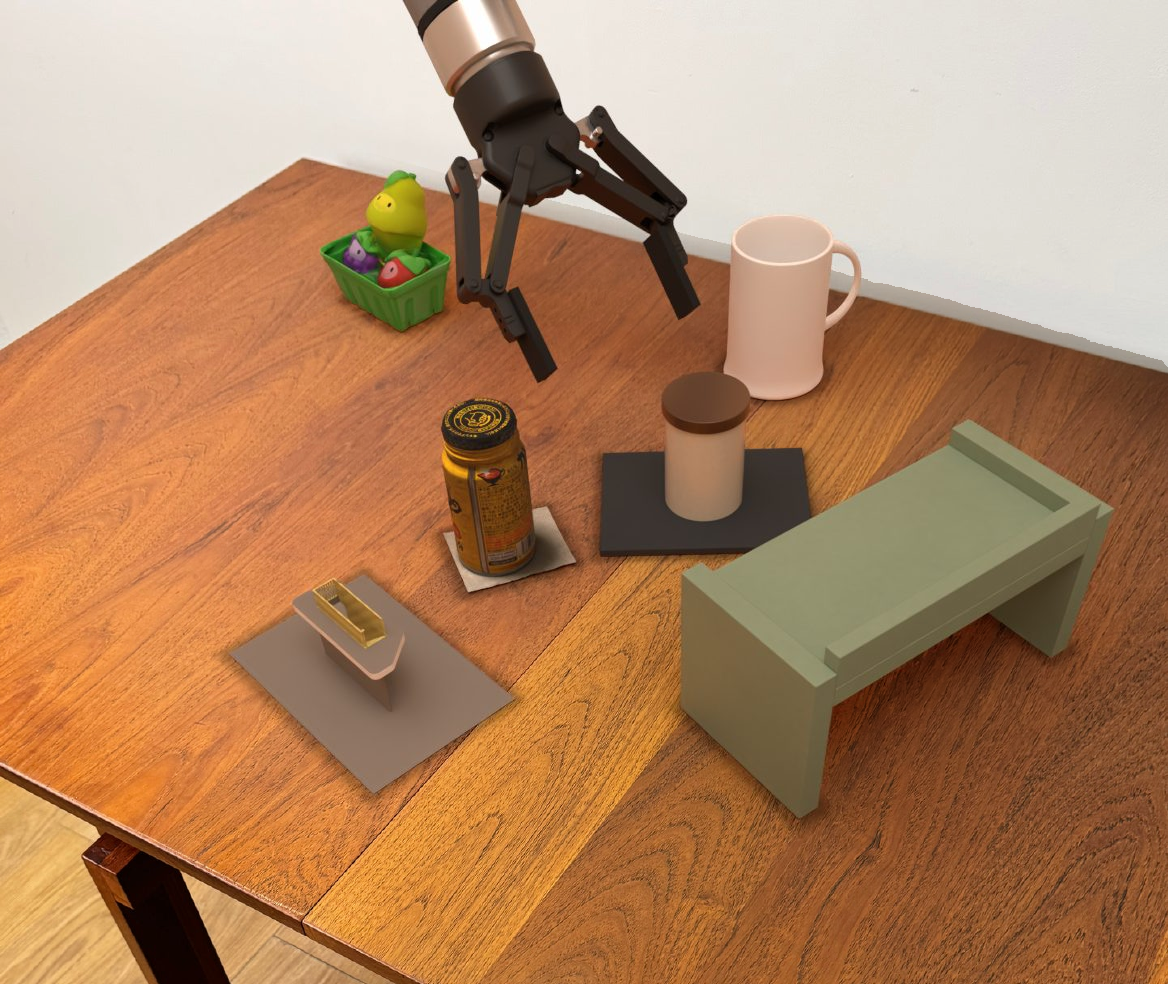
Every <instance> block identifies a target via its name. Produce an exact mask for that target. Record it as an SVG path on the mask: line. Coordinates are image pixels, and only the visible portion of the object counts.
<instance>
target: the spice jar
mask: <svg viewBox="0 0 1168 984" xmlns="http://www.w3.org/2000/svg"><path fill="white" fill-rule="evenodd" d="M660 399H661V400H660V402H661V403H660V404H661V405H660V406H661V413H662V416H663V419H664V420H663V421H664V425H663V426H664V429H663V430H664V433H663V434H664V439H663V441H664V451H665V501H666V504H667V506H668V507H669V508H670V510H671V511H672V512H674V513H675V514H676V515H678V516H680V517H682V518H685V519H688V520H693V521H714V520H718V519H722V518H724V517H727V516H729V515H730V514H732V513H733V512H734V511H736V510H737V509H738V507H739V506H740V504H741V502H742V496H743V477H744V458H745V449H746V438H747V418H748V416H749V413H750V411H751V397H750V392H749V390H748V388H747V387H746V385H745V384H744V383H743V382H741V381H740V380H738V379H737V378H735V377H733V376H730V375H727V374H724V372H719V371H718V372H717V371H697V372H690V373H687V374H683V375H681V376H678V377H676V378H675V379H673V380H671V381H670V382H669V383H668V384H667V385H666V386H665V388H664V389H663V390H662V393H661V398H660Z"/></svg>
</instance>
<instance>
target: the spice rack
mask: <svg viewBox="0 0 1168 984" xmlns="http://www.w3.org/2000/svg"><path fill="white" fill-rule="evenodd" d="M1114 510H1115V508H1114V507H1112V506H1111V505H1109V504H1108V503H1106V502H1104V501H1102V500H1101V499H1099V498H1097V497H1096V496H1095V495H1093V494H1091V493H1090V492H1088V491H1086V490H1085V489H1083V488H1081V487H1080V486H1078V485H1077V484H1075V483H1074V482H1072V481H1070V480H1069V479H1067V478H1066V477H1064V476H1062V475H1061V474H1059V473H1058V472H1056V471H1054V470H1052V469H1051V468H1049V467H1048V466H1046V465H1044V464H1042V463H1041V462H1040V461H1038V460H1036V459H1035V458H1033V457H1032V456H1030V455H1028V454H1026V453H1025V452H1023V451H1022V450H1020V449H1018V448H1017V447H1016V446H1014V445H1012V444H1010V443H1009V442H1007V441H1006V440H1004V439H1002V438H1001V437H999V436H997V435H995V433H992V432H991V431H990V430H987V429H986V428H985V427H983V426H981V425H979V424H978V423H977V422H975V421H973V420H971V419H969V418H968V419H966V420H964V421H962V422H961V423H959V424H957V425H955V426H953V427H952V428H951V431H950V435H949V441H948V444H947V445H944V446H943V447H941V448H939V449H937V450H935V451H933V452H932V453H930V454H928V455H926V456H924V457H922V458H921V459H919V460H917V461H915V462H913V463H911V464H910V465H908V466H906V467H904V468H902V469H900V470H898V471H896V472H895V473H893V474H891V475H889V476H887V477H886V478H885V477H884V479H881V480H880V481H878V482H876V483H874V484H872V485H870V486H869V487H866V488H865V489H863V490H861V491H859V492H857V493H855V494H854V495H852V496H850V497H847V499H843V501H840V502H839V503H837V504H835V505H833V506H831V507H829V508H827V509H826V510H823V511H822V512H821V513H819V514H817V515H815V516H812V517H811V519H809V520H807V521H805V522H804V523H802V524H800V525H798V526H796V527H794V528H792V529H791V530H789V531H787V532H785V533H783V534H781V535H780V536H778V537H776V538H774V539H772V540H770V541H768V542H767V543H765V544H763V545H761V546H759V547H757V548H755V549H754V550H752V551H750V552H748V553H743V554H742V555H741V556H739V557H737V558H734V559H733V560H731V561H730V562H728V563H726V564H724V565H722V566H720V567H718V568H716V569H714V570H712V569H711V568H709V567H708V566H707V565H706V564H705V563H703V562H702V561H701V562H699V563H696V564H695V565H693V566H691V567H690V568H688V569H685V570H684V571H682V572H681V573H680V697H679V699H680V700H679V701H680V703H679V704H680V705H679V706H680V709H681V710H683V712H684V713H686V714H687V715H688V716H689V717H690V718H691V719H692V720H693V721H694V722H695V723H696V724H697V725H699V726H700V727H701V728H702V729H703V730H704V731H705V732H706V733H707V734H708V735H709V736H710V737H711V738H712V739H714V740H715V742H717V744H718V745H720V746H721V747H722V748H723V750H725V751H726V752H727V753H728V754H729V755H730V756H732V758H733V759H734V760H735V761H737V762H738V763H739V765H741V766H742V767H743V768H744V769H745V770H746V771H747V772H748V773H749V774H751V775H752V776H753V777H754V779H755V780H757V781H758V782H759V783H760V784H761V785H762V787H763V788H765V789H766V790H767V791H769V792H770V793H771V794H772V795H773V796H774V797H775V798H776V799H777V800H778V801H779V802H780V803H781V804H782V805H783V806H784V807H785V808H786V809H787V810H789V812H791V813H792V814H793V815H794V817H796V818H797V819H799V820H800V819H802V818H803V817H805V816H806V815H808V814H810V813H811V812H812V811H814V810H816V809H817V808H819V803H820V796H821V789H822V782H823V781H822V780H823V774H824V770H825V769H824V767H825V760H826V754H827V747H828V741H829V734H830V727H831V721H832V720H831V719H832V713H833V707H835V706H837V705H840V703H842V702H843V701H845V700H847V699H848V698H850V697H851V696H854V695H855V694H857V693H858V692H860V691H861V690H863V689H865V688H866V687H868V686H870V685H872V684H873V683H875V682H876V681H879V680H880V679H881V678H883V677H885V676H886V675H888V674H889V673H891V672H893V671H895V670H896V669H898V668H899V667H902V666H903V665H904V664H906V663H908V662H909V661H911V660H913V659H914V658H916V657H917V656H919V655H921V654H922V653H924V652H927V650H928V649H930V648H932V647H934V646H936V645H937V644H939V643H940V642H942V641H944V640H945V639H947V638H949V637H950V636H952V635H953V634H955V633H957V632H958V631H960V630H962V629H963V628H965V627H967V626H968V625H971V624H972V623H973V622H975V621H976V620H978V619H979V618H981V617H983V616H985V615H986V614H989V615H990V616H992V617H993V618H994V619H996V620H997V621H999V622H1000V623H1002V624H1003V625H1004V626H1005V627H1007V628H1009V629H1010V630H1011V631H1013V632H1014V633H1015V634H1017V635H1018V636H1019V637H1021V638H1022V639H1023V640H1025V641H1027V643H1029V644H1031V645H1032V646H1033V647H1034V648H1036V649H1037V650H1039V651H1040V652H1042V653H1043V654H1044V655H1046V656H1047V657H1049V658H1050V659H1052V658H1053V657H1055V656H1056V655H1058V654H1060V653H1061V652H1063V651H1065V650H1066V649H1067V648H1068V645H1069V642H1070V639H1071V637H1072V633H1073V631H1074V628H1075V626H1076V625H1075V624H1076V622H1077V619H1078V616H1079V612H1080V610H1081V607H1082V604H1083V602H1084V598H1085V595H1086V592H1087V590H1088V586H1089V583H1090V580H1091V577H1092V574H1093V572H1094V569H1095V565H1096V564H1097V560H1098V558H1099V554H1100V551H1101V548H1102V546H1103V542H1104V540H1105V537H1106V534H1107V530H1108V528H1109V525H1110V522H1111V520H1112V516H1113V513H1114Z"/></svg>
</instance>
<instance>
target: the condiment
mask: <svg viewBox="0 0 1168 984" xmlns="http://www.w3.org/2000/svg"><path fill="white" fill-rule="evenodd" d="M440 432H441V434H442V439H443V441H442V443H443V450H442V451H441V452H442V453H441V463H442V464H441V468H442V472H443V478H444V483H445V488H446V489H445V490H446V494H447V499H448V500H447V502H448V503H447V504H448V506H449V511H450V517H451V523H452V525H451V527H452V531H449V532H443V533H442V534H443V536H444V539H445V541H446V544H447V546H448V548H449V551H450V553H451V556H452V558H453V561H454V563H455V565H456V568H457V571H458V573H459V575H460V577H461V579H462V581H463V584H464V586H465V588H466V591H467V593H471V592H475V591H479V590H481V589H486V588H491V587H495V586H497V585H503V584H506V583H510V582H512V581H516V580H517V581H518V580H519V579H522V578H526V577H528V576H531V575H533V574H539V573H543V572H547V571H551V570H555V569H557V568H560V567H562V566H565V565H571V564H574V563H577V560H576V558H575V557H574V555H573V554H572V552H571V549H570V548H569V546H568V544H567V543H566V541H565V539H564V537H563V535H562V533H561V532H560V530H559V528H558V525H557V524H556V521H555V520H554V518H553V516H552V513H551V512H550V509H549V508H548V506H547V505H546V506H543V507H537V508H533V505H532V494H531V486H530V476H529V467H528V457H527V450H526V447H525V444H524V441H522V439H521V438H520V437H521V436H520V432H519V429H518V419H517V416H516V413H515V412H514V410H513V408H512V407H511V406H510V405H509V404H508V403H506V402H503V401H501V400H498V399H494V398H490V397H489V398H487V397H479V398H477V397H476V398H470V399H466V400H464V401H462V402H458V403H457V404H455V405H454V406H453V407H450V408H449V409H448V410H446V412H445V414H444V415H443V418H442V421H441V426H440Z"/></svg>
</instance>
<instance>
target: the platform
mask: <svg viewBox="0 0 1168 984" xmlns="http://www.w3.org/2000/svg"><path fill="white" fill-rule="evenodd" d="M291 603H292V607H293V610H294V611H295V612H296V613H295V614H293V615H291V616H290V617H288V618H287V619H285V620H283V621H281V622H280V623H278V624H276V625H274V626H273V627H271V628H269V629H268V630H266V631H264V632H263V633H261V634H259V635H257V636H255V637H254V638H251V640H248V641H247V642H246V643H244V644H242V645H240V646H239V647H237V648H235V649H234V650H232V651H230V652H229V653H228V655H229V656H230V657H231V658H233V660H235V662H236V663H237V664H238V665H240V666H241V667H242V668H243V669H244V670H245V671H246V672H247V673H248V674H249V675H250V676H251V677H252V678H253V680H255V681H256V682H257V683H258V684H259V685H260V686H261V687H262V688H263V689H264V690H266V692H268V694H269V695H271V696H272V697H273V699H275V700H276V701H277V702H278V703H279V704H280V705H281V706H282V707H283V709H285V710H286V711H287V712H288V713H289V714H290V715H291V716H292V717H293V718H294V719H295V720H296V721H297V722H298V723H299V724H300V725H302V727H303V728H305V729H306V730H307V731H308V733H309V734H311V736H313V738H315V739H316V740H317V742H319V743H320V744H321V745H322V746H323V747H324V748H325V749H326V750H328V752H329V753H330V754H331V755H332V756H333V757H334V758H335V759H337V761H339V763H341V764H342V765H343V767H344V768H346V769H347V770H348V771H349V772H350V774H352V775H353V776H354V778H356V779H357V780H358V781H359V782H360V783H361V784H362V785H363V786H364V787H365V788H366V789H367V790H369V792H370V793H371V794H373V795H375V794H376V793H378V792H379V791H381V790H383V788H385V787H386V786H388V785H390V784H391V783H393V782H394V781H395V780H396V779H398V778H399V777H401V776H403V775H404V774H405V773H407V772H409V771H411V769H413V768H415V767H417V766H418V765H419V764H420V763H422V762H423V761H425V760H426V759H428V758H429V757H431V756H432V755H434V754H436V753H437V752H438V751H440V750H442V749H443V748H444V747H446V746H447V745H449V744H450V743H451V742H453V741H455V740H456V739H457V738H459V737H460V736H462V735H463V734H466V732H468V731H469V730H471V729H473V728H474V727H475V726H477V725H478V724H480V723H481V722H482V721H484V720H486V719H488V718H489V717H491V716H492V715H493V714H495V713H496V712H498V711H499V710H501V709H502V708H504V707H505V706H506V705H508V704H510V703H511V702H513V701H514V700H515V699H516V698H515V696H513V695H511V694H510V693H509V692H508V691H507V690H506V689H504V688H503V687H502V686H501V685H499V683H497V681H494V680H493V679H492V678H491V677H490V676H488V674H486V673H485V672H484V671H482V670H481V669H480V668H479V667H478V666H476V665H475V664H474V663H473V662H471V660H469V659H468V658H467V657H466V656H465V655H463V654H462V653H461V652H459V651H458V650H457V649H456V648H454V647H453V646H452V645H451V644H450V643H449V642H448V641H446V640H445V639H444V638H442V636H440V635H438V633H437V632H435V631H434V630H433V629H431V628H430V627H429V626H428V625H427V624H425V622H423V621H422V620H421V619H420V618H418V616H416V615H415V614H414V613H412V612H411V611H410V610H409V609H407V608H406V607H405V606H404V605H402V604H401V603H400V602H399V601H398V600H397V599H395V598H394V597H393V596H391V594H389V593H388V592H387V591H385V589H383V588H382V587H380V585H378V584H377V583H376V582H375V581H374V580H372V579H371V578H370V577H368V575H366V574H365V573H363V574H361V575H359V576H357V577H356V578H355V579H353V580H351V581H349V582H347V583H346V584H345V583H341V582H340V581H338V579H336V578H335V577H332V578H331V579H329V580H327V581H325V582H323V583H322V584H320V585H318V586H317V587H315V588H313V589H312V590H307V591H305V592H303V593H302V594H300V595H298V596H296V597H294V599H292V602H291Z"/></svg>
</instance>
